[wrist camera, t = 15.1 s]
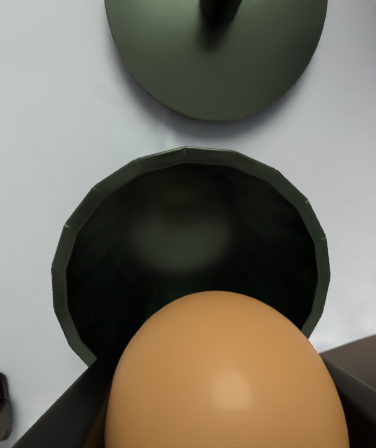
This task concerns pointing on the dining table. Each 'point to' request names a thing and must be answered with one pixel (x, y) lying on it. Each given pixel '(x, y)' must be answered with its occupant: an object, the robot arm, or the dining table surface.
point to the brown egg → (222, 381)
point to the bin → (185, 245)
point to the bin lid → (216, 51)
